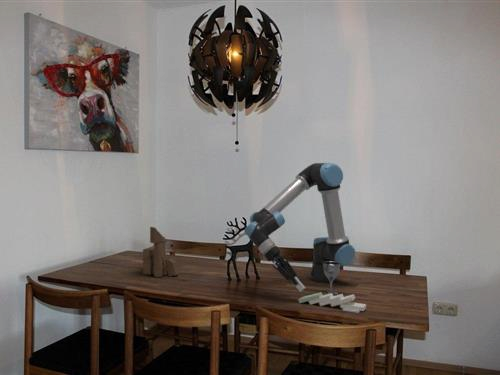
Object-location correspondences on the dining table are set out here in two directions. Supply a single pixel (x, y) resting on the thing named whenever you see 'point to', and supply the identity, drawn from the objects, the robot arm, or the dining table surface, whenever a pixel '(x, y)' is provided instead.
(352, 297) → the domino
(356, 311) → the coaster
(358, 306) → the domino
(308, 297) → the domino
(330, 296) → the domino
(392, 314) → the dining table surface
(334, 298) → the domino
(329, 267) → the wine glass
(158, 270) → the wooden blocks
